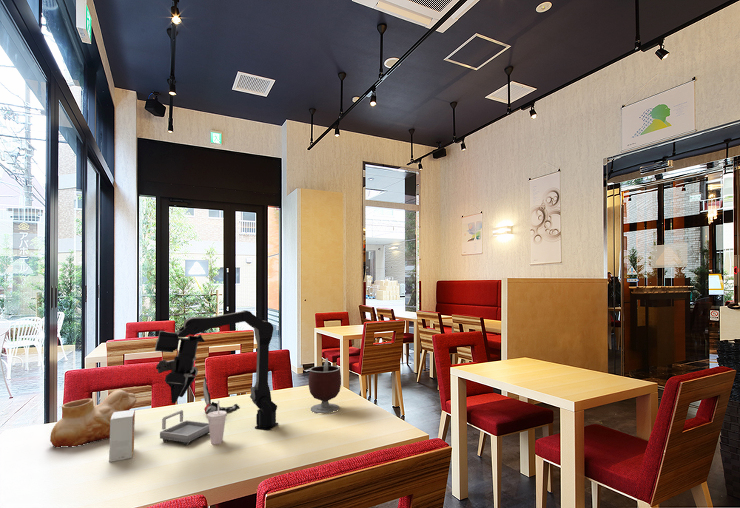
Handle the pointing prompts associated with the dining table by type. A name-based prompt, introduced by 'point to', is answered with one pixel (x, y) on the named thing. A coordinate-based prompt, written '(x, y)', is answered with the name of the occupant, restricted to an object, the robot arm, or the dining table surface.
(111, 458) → the small box
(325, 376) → the mate gourd
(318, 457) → the dining table surface
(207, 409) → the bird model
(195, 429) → the grey tray
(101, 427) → the ceramic vessel
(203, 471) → the dining table surface
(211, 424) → the smoothie
